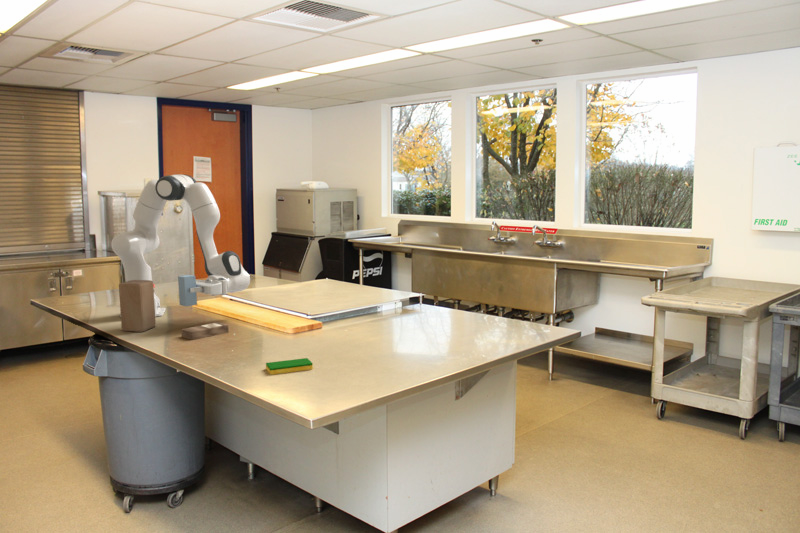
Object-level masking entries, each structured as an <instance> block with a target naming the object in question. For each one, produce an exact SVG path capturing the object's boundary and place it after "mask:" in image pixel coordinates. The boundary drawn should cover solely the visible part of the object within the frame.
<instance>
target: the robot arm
mask: <svg viewBox="0 0 800 533" xmlns="http://www.w3.org/2000/svg"><path fill="white" fill-rule="evenodd" d="M181 200H183V201H185V202H186V203H187V204H188V206H189V209H190V211H191V213H192V216H193V219H194V222H195V223H194V224H195V230H196V235H197V236H196V237H197V240H198V242H199V246H200V249H201V253H202V256H203V259H204V270H205V273H206V274H207V278H206V279H204V280H203V279H196V287H194V288H193V287H192V288H189V292H191V293H192V292H196V293H200V294H204V295H209V296H212V297H213V296H214V297H215V296H225V295H227V294H229V293H230V294H232V293H233V294H234V293H238V292H242V291H244V290H246V289H247V288H249V286H250V283H251V277H250V274H249V273H248V271H247V270H245V268H244V267H243V265H242V262H241V258H240V256H239V255H238V254H237V253H236V252H235V251H232V250H226V251H224V252H222V253H220V254H219V253H218V251H217V250H218V249H217V246H216V244H215V241H214V232H215V229H216V226H217V225H218V224H219V222H220V220H221V213H220V212H221V211H220V209H219V207H218V206H219V205H218V204H217V202H216V199H215V196H214V195H213V193H212V191H211V190H210V188H209V187H208V185H207V184H206V183H204V182H200V181H198V182H197V180H196V179H195V178H194V177H193V176H191V175H188V174H180V173H179V174H177V173H176V174H175V173H174V174H172V175H169V174H168V175H163V176H162V177H160V178H159V179H150V180H149V181H148V182H147V183H146V184H145V186H144V187H143V189H142V191H141V193H140V194H139V197H138V199H137V202H136V206H135V207H134V210H133V212H132V218H133V220H134V221H135V222H134V228H133V230H129V231H122V232H120V233H119V234H116V235H115V236H114V237H113V238H112V240H111V244H110V245H111V249H112V252H113V253H114V254H115V255H117V256H118V258H119V259H120V261H121V264H122V267H123V271H124V278H125V279H124V280H125V281H124V282H127V281H131V280H151V281H153V277H152V275H153V274H152V268H151V266H150V265H149V264H147V262H146V259H145V257H144V254H149V253H152V252H153V251H155V250H156V249H158V248H159V245H160V244H161V243H160V237H159V235H158V227H159V223H160V221H161V220H160V219H161V217H162V215H163V212H164V210H165V207H166V204H167V202H171V201H181ZM155 287H156V284H155V283H153V289H154V290H155ZM160 300H161V299H160V298H159V296H157V295H156V293H155V292H154V305H155V318H156V317H162V316H163V315H164V314H165V311H166V307H161V302H160ZM119 317H120V318H121V313H120V314H119Z"/></svg>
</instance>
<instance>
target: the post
mask: <svg viewBox="0 0 800 533" xmlns="http://www.w3.org/2000/svg"><path fill="white" fill-rule="evenodd" d="M196 280H197V279H196V275H192V274H185V275H178V276H177V281H178V282H177V283H178V298H179V300H178V301H179V305H180V306H183V307H191V306H192V307H193V306H197V305H198V297H197V292H192V293H191V292H189V288H192V287H193V288H194V287H196Z"/></svg>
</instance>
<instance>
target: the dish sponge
mask: <svg viewBox="0 0 800 533" xmlns="http://www.w3.org/2000/svg"><path fill="white" fill-rule="evenodd" d="M265 369H266V371H267V373H268V374H269V375H278V374H287V373H293V372H294V373H295V372H301V371H309V370H311V371H312V370H313V369H314V365H313V362H312V361H311V360H310V359H309V358H307V357H306V358H303V357H302V358H296V359H289V360H281V361H280V360H279V361H272V362H271V361H270V362H266V363H265Z"/></svg>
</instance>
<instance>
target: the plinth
mask: <svg viewBox="0 0 800 533" xmlns="http://www.w3.org/2000/svg"><path fill="white" fill-rule="evenodd" d="M180 330H181V337H182V338H185V339H188V340H191V341H194V340H199V339H204V338H209V337H213V336H216V335H222V334H227V333H229V325H228V324H227V323H226V324H225V323H221V322H217V321H216V322H211V323H206V324H201V325H197V326H191V327H186V328H182V329H180Z"/></svg>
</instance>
